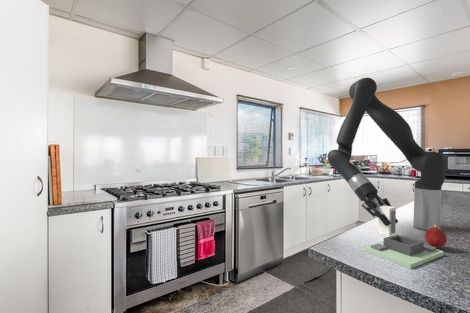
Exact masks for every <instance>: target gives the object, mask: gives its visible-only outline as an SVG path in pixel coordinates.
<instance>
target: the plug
mask: <svg viewBox="0 0 470 313" xmlns="http://www.w3.org/2000/svg"><path fill="white" fill-rule="evenodd" d="M391 206H392V205H391ZM391 206H381V207H380V208H381V211H382V212H383V213H384V214H383V215H385V216H386V217H387V218H388V220H389V221H390V222H391V224H390V225H388V226H385V225H384V223H383V222H382V221H381V220H380V218H378V223H377V224H378V228H377V229H378V232H377V233H378V234H382V235H385V236H387V237H390V236H394V235H396V234H397V233H396V232H397V231H396V226H397V225H396V224H397V223H396V219H397V217H396V216H397V214H396V212H397V207H395V206H392V207H391Z"/></svg>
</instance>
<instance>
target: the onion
mask: <svg viewBox="0 0 470 313" xmlns="http://www.w3.org/2000/svg"><path fill="white" fill-rule="evenodd" d="M424 239H425V241H426V243H427V245H429V246H433V247H436V249H437V250H438V249H439V248H442V247H444V246H445V245H446V243H447V242H448V238H447V236H446V234H445V232H444V231H443V230H442V229H441V228H440V229H439V228H438V227H437V225H434V227H433V228H431V229H429V230H425V233H424Z"/></svg>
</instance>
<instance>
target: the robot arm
mask: <svg viewBox="0 0 470 313" xmlns="http://www.w3.org/2000/svg"><path fill="white" fill-rule="evenodd" d="M377 89H378V85H377V83H376V80H375V79H373V78H371V77H363V78H361V79H358V80H357V81H355V82H353V83H352V84H351V85H350V87H349V90H348V94H349V97H350V99H351V100H352V103H351V105H350V108H349V110H348V113H347V114H346V116H345V119H343V122H342V124H341V126H340V129H339V131H338V134H337V138H336V141H335V142H336V144H337V145H338V147H337V148H338V149H331V150H330V151H329V152H328V153H327V161H328V162H329V163H328V164H330V165H331V167H333V169H335V170H336V172H337V173H339V174H340V176H342V177H343V179H344V180H345V182H347V184H348V185H349V188H350V189H351V190H352V192H353V193H354V194H355V195H356V196H357V198H358V199H359V200H360V202H363V203H362V204H361V207H363V209H364V210H365V211H367V212H368V214H370V215H371V216H372V217H376V218H378V219H379V218H380V220H381V221H382V222H383V223H384V225H385V226H388V225H390V224H391V222H390V221H389V220H388V218H387V217H386V216H385V215H383V214H384V213H383V212H382V211H381V208H380V207H381V206H391V207H393V206H392V205H391V203H390V201H389V199H388V198H381V197H380V196H379V195H378V193H379V191H378V188H377V187H376V186H375V185H374V184H373V183H372V182H371V181H370V180H369V178H368V177H367V176H366V175H365V174H364V173H363V172H362V171H361V170H360V169H359V168H358V167H357V166H356V165H355V164H353V163H351V162H350V161H351V158H352V155H353V154H352V152H353V144H354V141H355V138H356V135H357V132H358V130H359V128H360V125H361V122H362V119H363V117H364V115H365V113H366V114H367V115H368V116H369V117H370V118H371V119H372V120H373V122H374V123H375V125H377V126H378V128H379V129H380V131H382V132H383V133H384V135H386V137H387V138H388V139H389V140H390V141H391V142H392V143H393V144H394V145H395V146H396V148H398V150H399V151H400V152H401V153H402V154H403V155H404V157H405V159H406V160H407V161H408V163H409V164H410V166H411V167H412V168H413V170H415V171H417V172H420V173H421V174H420V178H419V179H418V180H415V182H414V185H413V186H414V188H413V189H414V190H413V191H414V193H413V196H414V197H413V227H414V228H416V229H419V230H423V231H427V230H429V229H431V228H433V227H434V225H437V227H438V228H439V229H440V230H441V218H442V215H441V214H442V188H443V184H444V183H445V179H446V178H445V176H446V159H445V157H444V155H443V154H442V153H440V152H438V151H425V149H423V148H422V147H421V146H420V145H419V144H418V143H417V141H416V140H415V138H414V135H413V131H412V128H411V126H410V124H409V123H408V122H407V121H406V119H405V118H404V117H403V116H402V115H401V114H400V113H398V112H397V111H396V110H394V109H393V108H391V107H389V106H388V105H386V104H385V103H383V102H382V101H381V100H380V99H379V98H378V97H377V95H375V94H376V92H377ZM398 223H399V220H398V218H396V224H398Z"/></svg>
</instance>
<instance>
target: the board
mask: <svg viewBox="0 0 470 313" xmlns="http://www.w3.org/2000/svg"><path fill="white" fill-rule="evenodd" d="M363 252H366V253H367V254H371V255H372V256H376V257H379V258H381V259H384V260H387V261H389V262H392V263H393V264H397V265H399V266H402V267H404V268H407V269H409V270H410V269H414V268H416V267H419V266H420V265H423V264H426V263H428V262H431V261H433V260H436V259H438V258H441V257H443V256H445V251H443V250H440V249H438V248H437V249H436V247H433V246H430V245H429V244H425V242H424V241H422V240H417V239H414V238H410V237H407V236H404V235H401V234H394V235H390V236H387V237H384V238H383V241H380V242H377V243H374V244H370V245H367V246H364V247H363Z"/></svg>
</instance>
